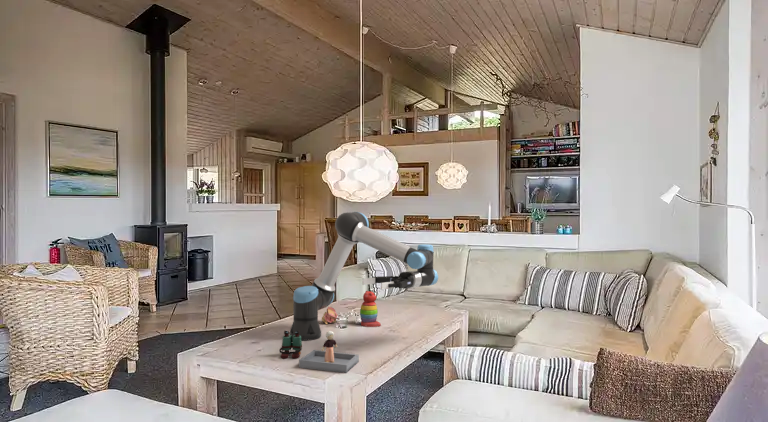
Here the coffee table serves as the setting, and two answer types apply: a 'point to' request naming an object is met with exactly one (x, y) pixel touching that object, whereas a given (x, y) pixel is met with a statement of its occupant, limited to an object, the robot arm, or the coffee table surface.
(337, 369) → the tray
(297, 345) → the binoculars
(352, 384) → the coffee table surface
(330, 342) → the grandmother figurine
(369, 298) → the stacking bear
